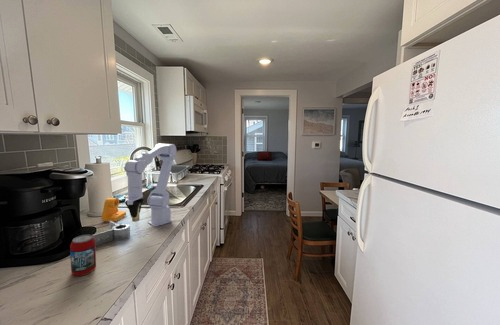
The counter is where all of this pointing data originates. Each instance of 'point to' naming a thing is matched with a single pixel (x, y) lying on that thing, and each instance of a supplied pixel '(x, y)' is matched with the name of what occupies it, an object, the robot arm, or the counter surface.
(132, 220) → the hinge pin
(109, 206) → the bracket
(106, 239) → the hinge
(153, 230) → the counter surface
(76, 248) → the beverage can
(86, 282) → the counter surface
